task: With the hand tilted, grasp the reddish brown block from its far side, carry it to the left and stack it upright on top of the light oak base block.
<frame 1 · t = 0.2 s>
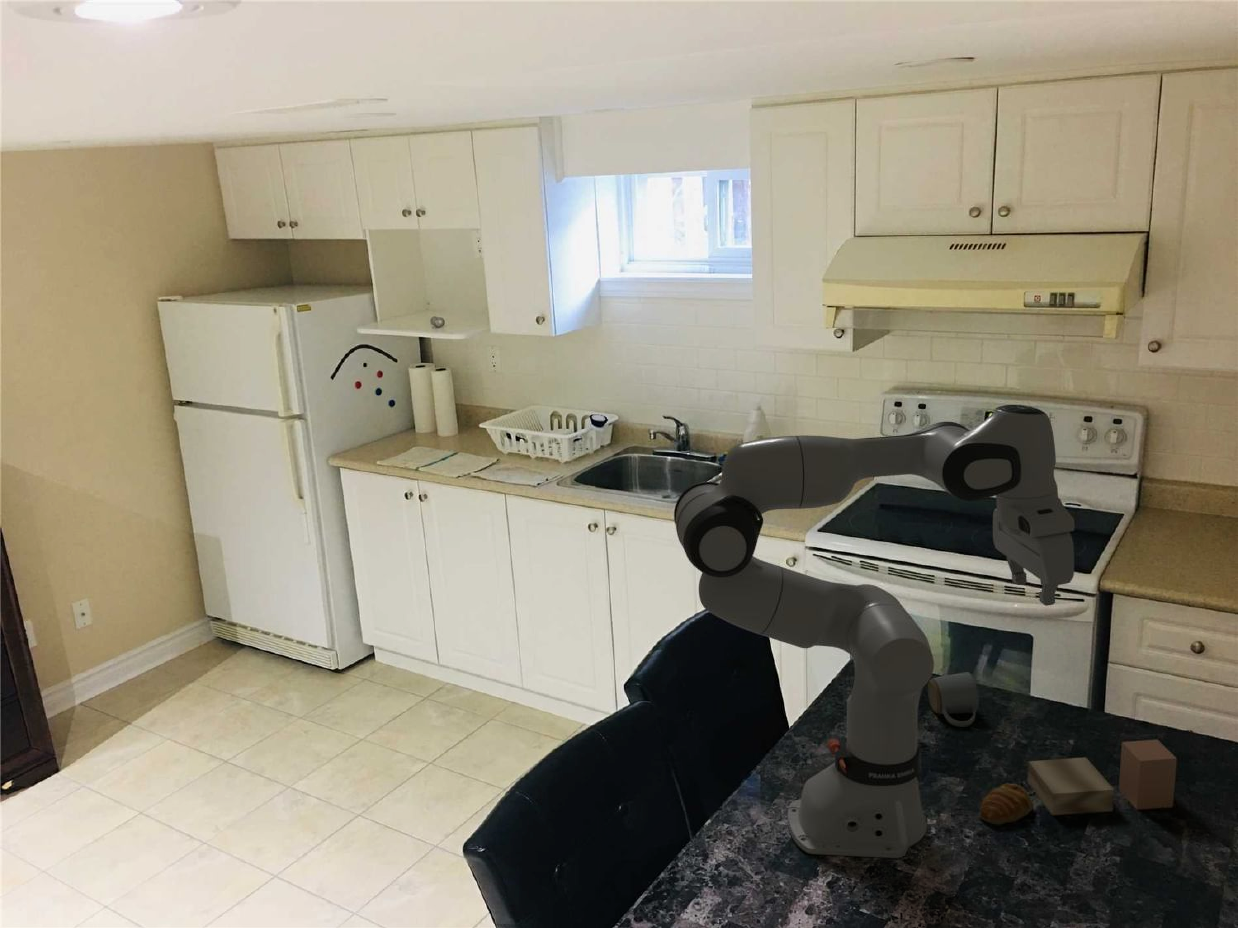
hand: (1033, 593, 162), 39 cm above the table, tool pointing down, fingers open, 8 cm apart
oak base block: (1068, 795, 176), on the table
reddish brown block: (1145, 797, 174), on the table
ceramic mug: (956, 715, 205), on the table
pastry: (1005, 813, 173), on the table
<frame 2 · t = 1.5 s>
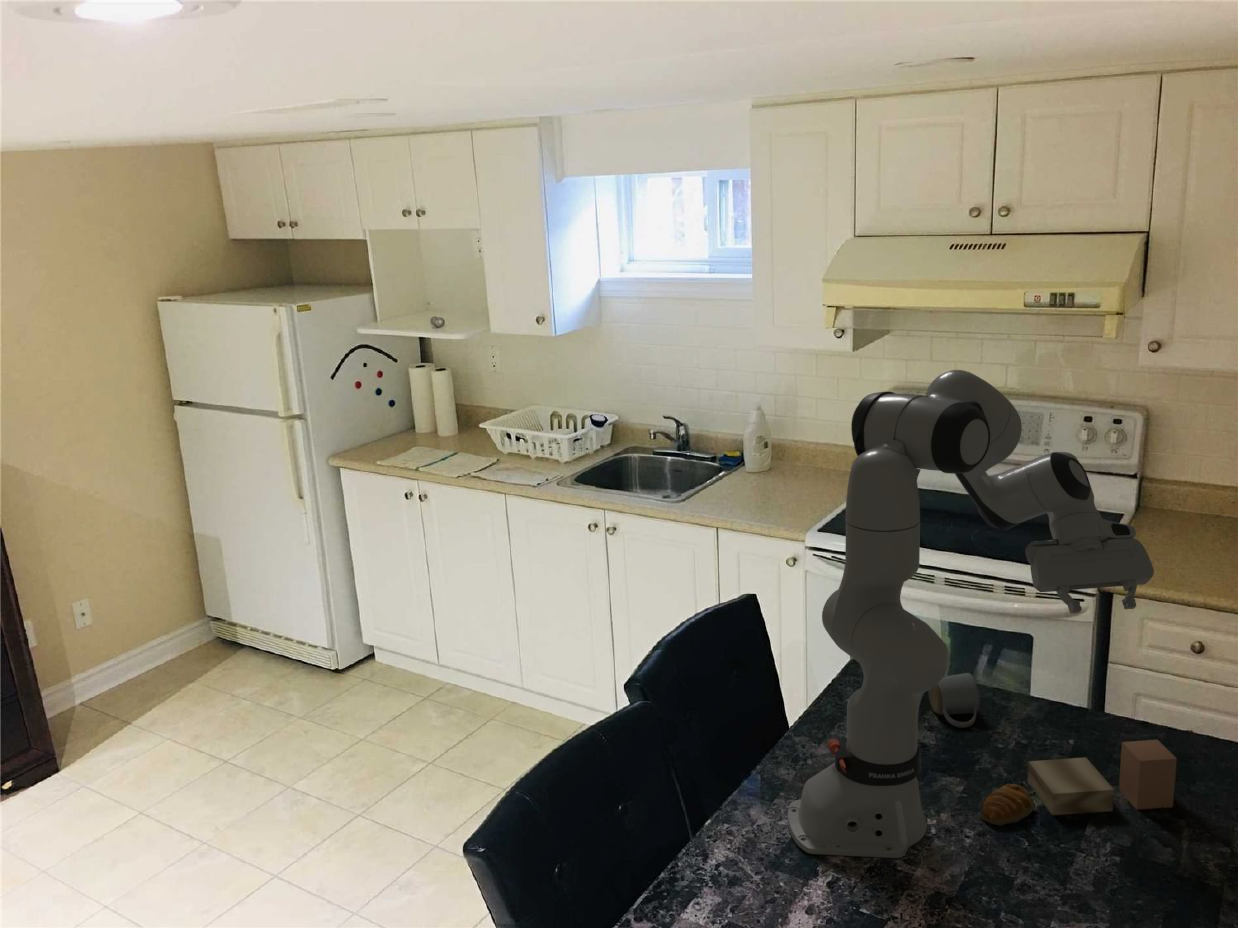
hand: (1103, 610, 179), 29 cm above the table, tool tilted 45°, fingers open, 8 cm apart
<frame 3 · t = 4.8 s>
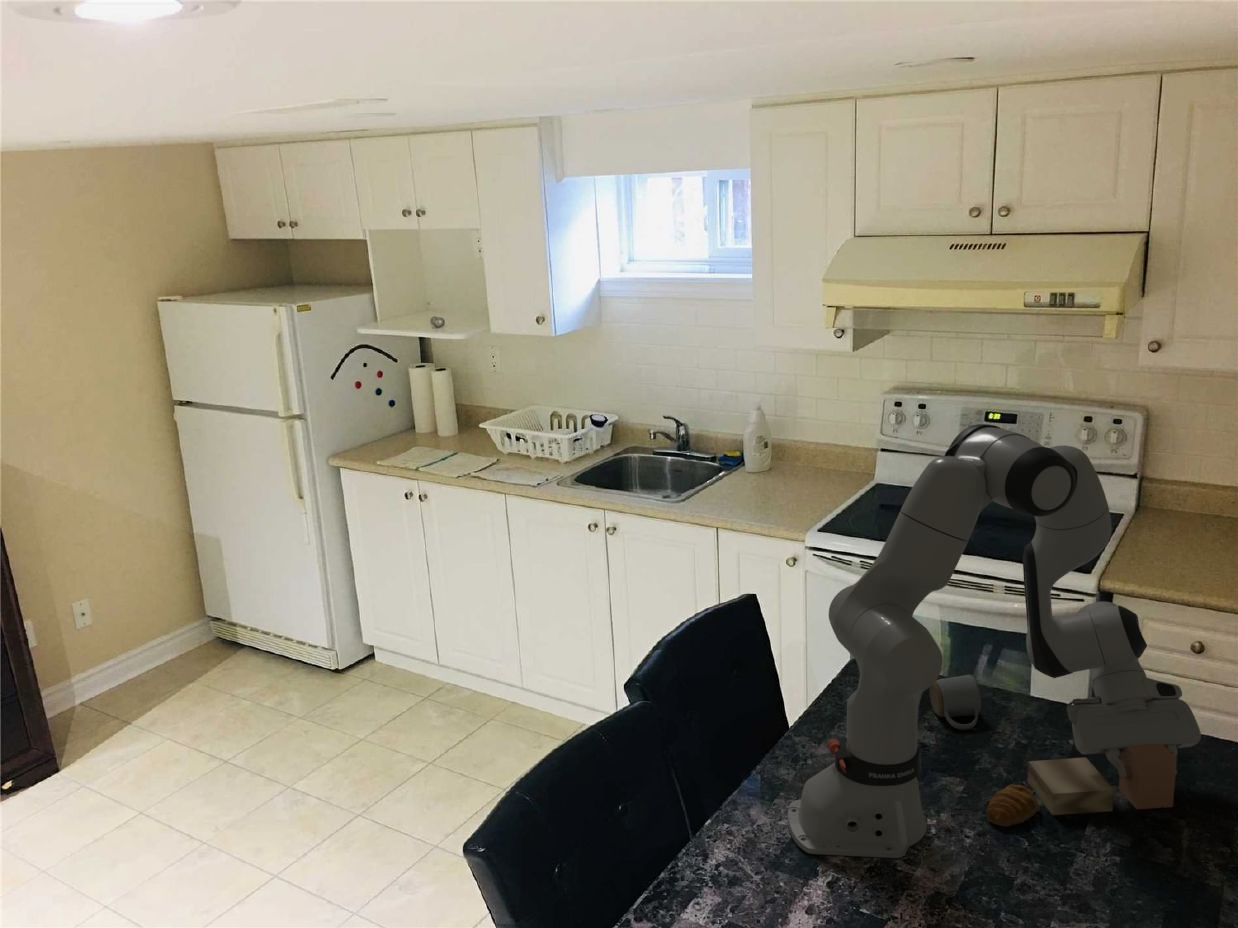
hand: (1149, 776, 172), 4 cm above the table, tool tilted 45°, fingers closed on reddish brown block, 6 cm apart
reddish brown block: (1145, 797, 174), on the table, touching gripper
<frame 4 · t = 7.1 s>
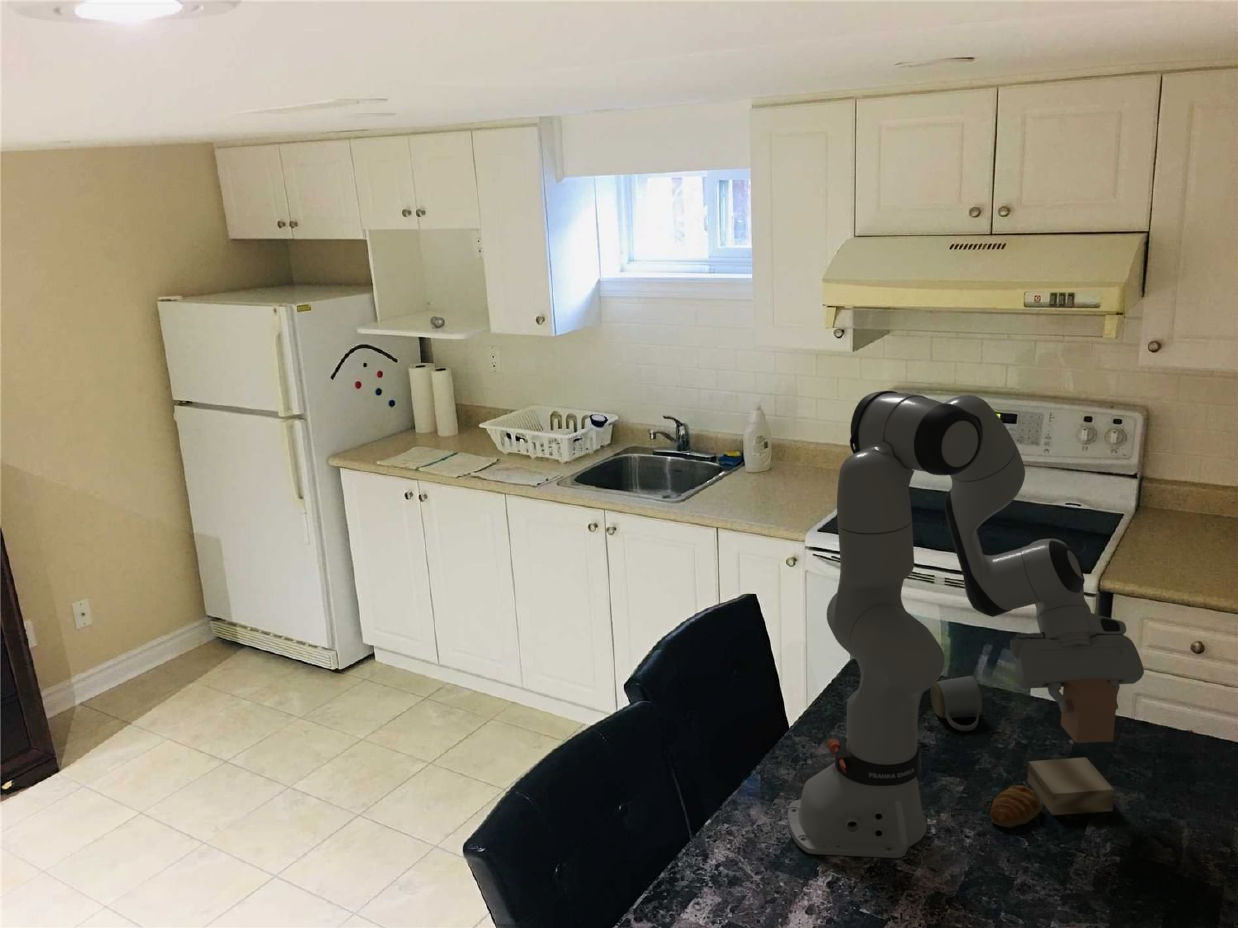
hand: (1089, 710, 170), 17 cm above the table, tool tilted 45°, fingers closed on reddish brown block, 6 cm apart
reddish brown block: (1086, 732, 172), point 12 cm above the table, touching gripper
when the fingers open (9 cm above the table, at t = 9.3 s): reddish brown block stays where it is, resting on oak base block.
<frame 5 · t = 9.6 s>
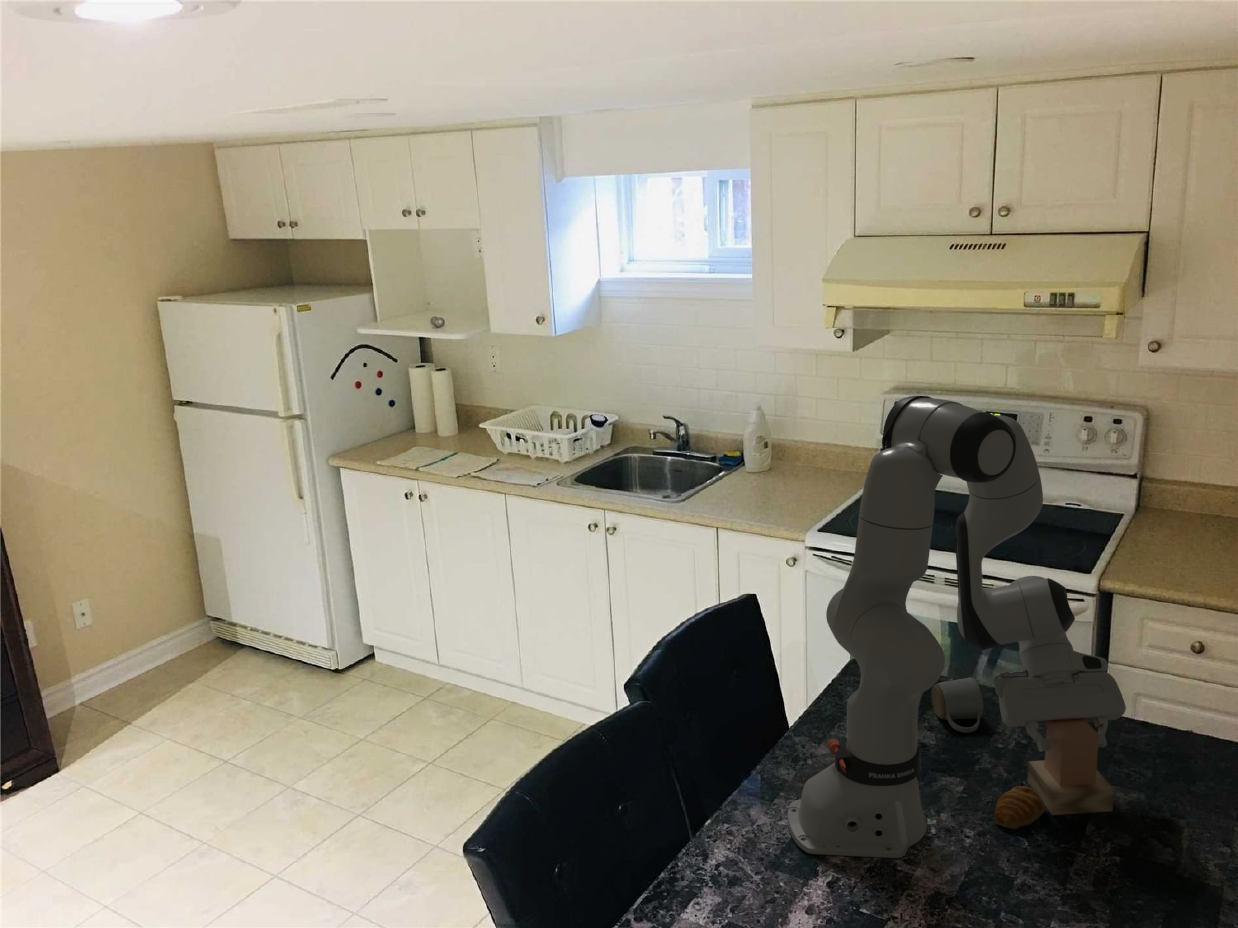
hand: (1073, 748, 173), 9 cm above the table, tool tilted 45°, fingers open, 8 cm apart
reddish brown block: (1069, 774, 175), point 4 cm above the table, touching oak base block
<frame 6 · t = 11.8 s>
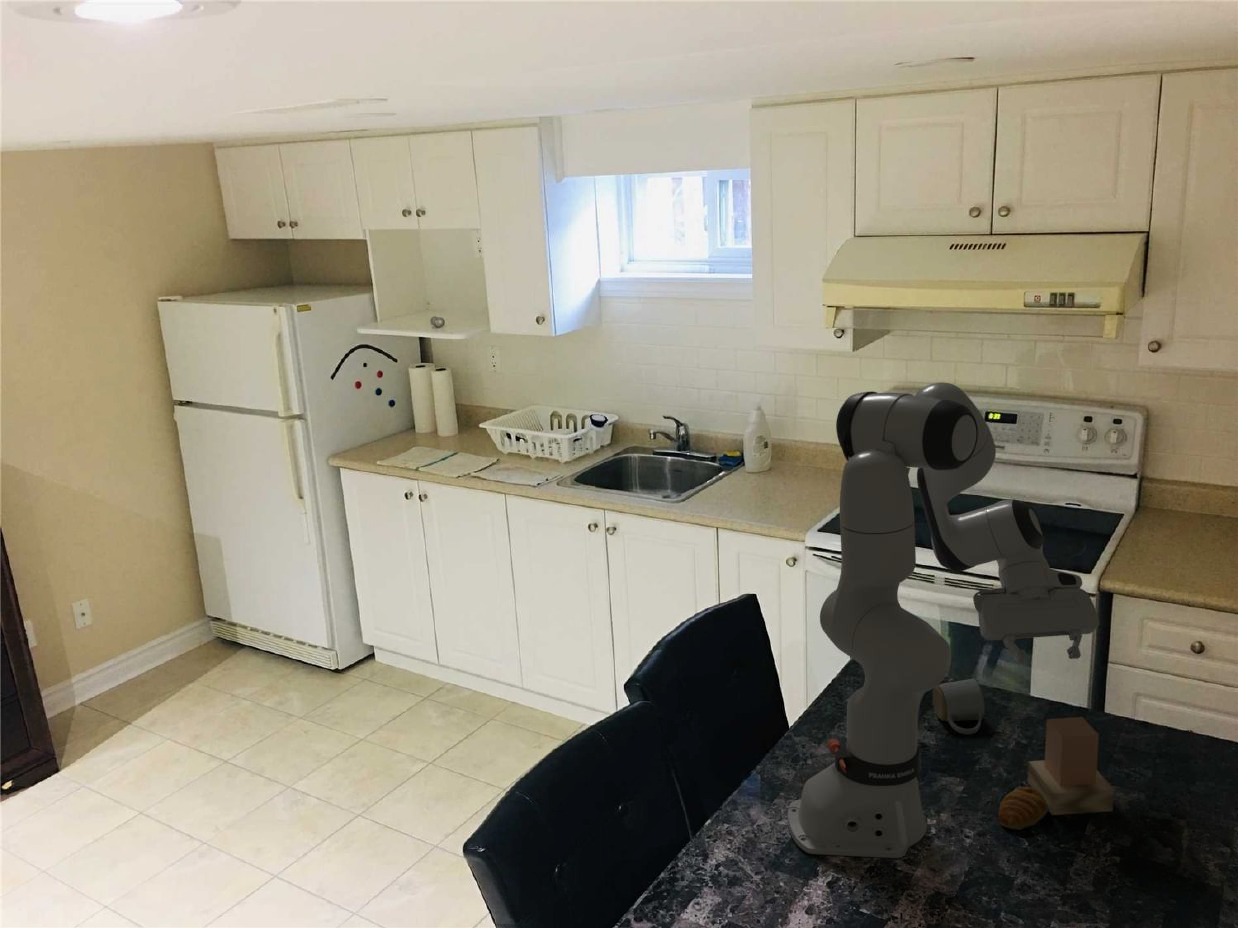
hand: (1048, 659, 181), 20 cm above the table, tool tilted 45°, fingers open, 8 cm apart
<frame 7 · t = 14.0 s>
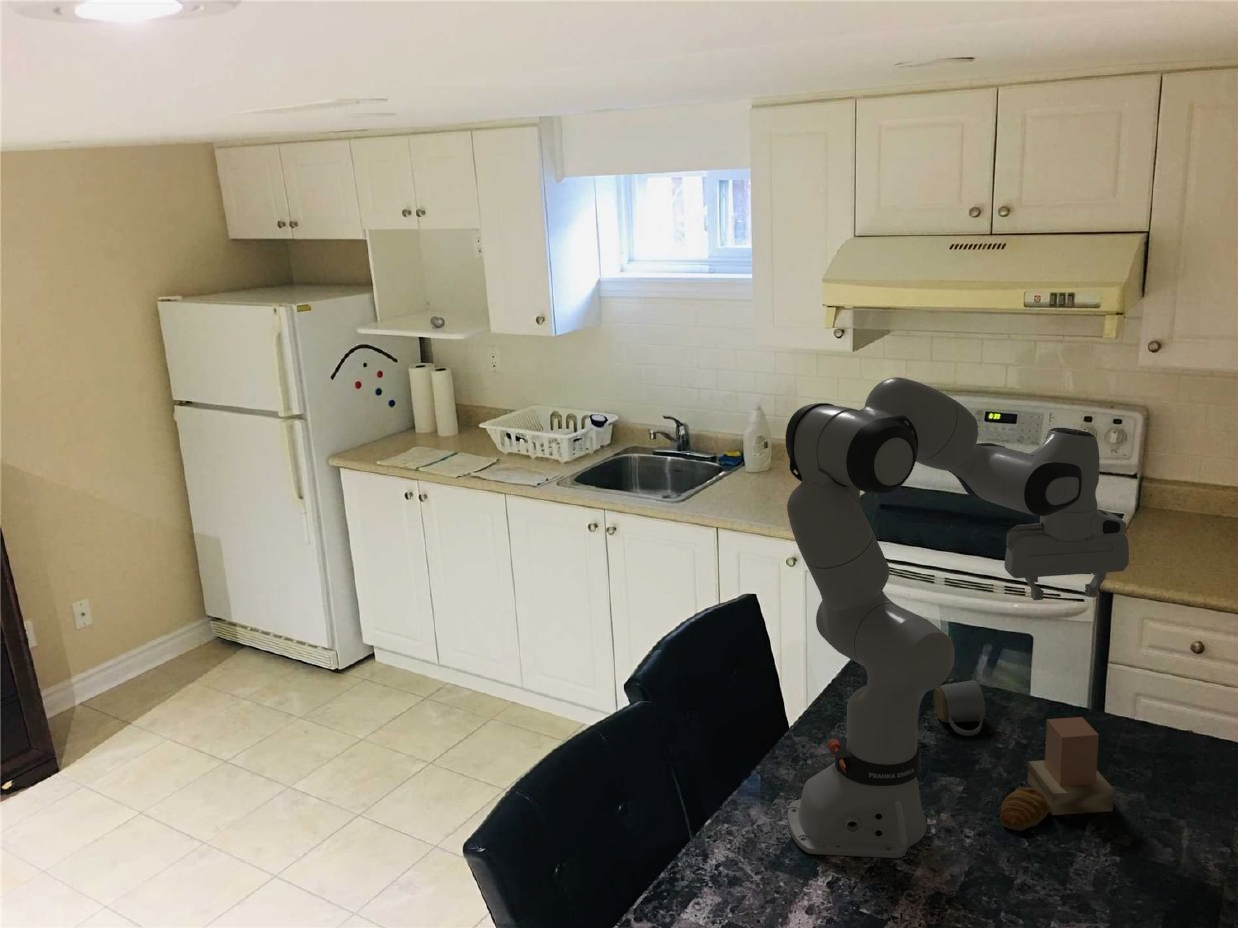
hand: (1064, 597, 180), 31 cm above the table, tool pointing down, fingers open, 8 cm apart
at the end: reddish brown block inside the target area on the oak base block (0.1 cm from its centre), point 4.0 cm above the oak base block's base; reddish brown block tilted 0°; reddish brown block touching oak base block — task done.
